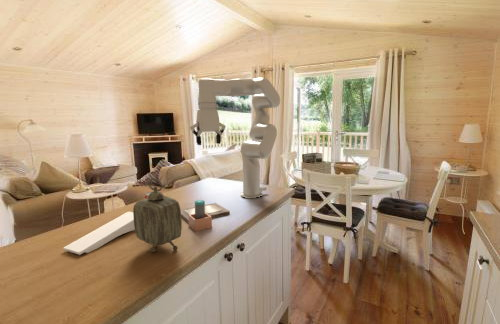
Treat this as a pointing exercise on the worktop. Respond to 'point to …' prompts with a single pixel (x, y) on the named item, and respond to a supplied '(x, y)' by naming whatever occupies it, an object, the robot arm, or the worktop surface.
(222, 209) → the writing board
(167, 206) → the tabletop clock
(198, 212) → the marker
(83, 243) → the white wedge
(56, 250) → the worktop surface
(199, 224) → the orange square open box
